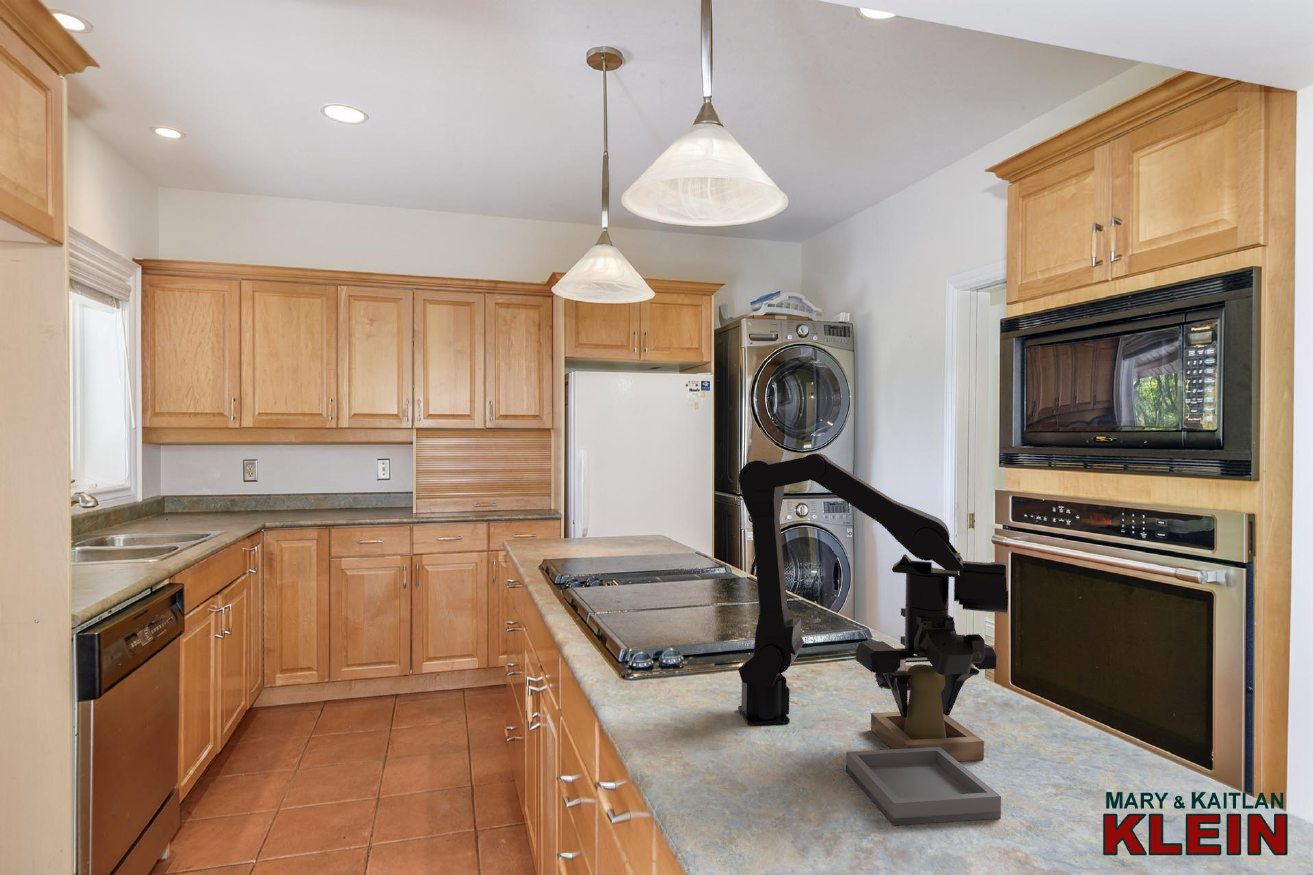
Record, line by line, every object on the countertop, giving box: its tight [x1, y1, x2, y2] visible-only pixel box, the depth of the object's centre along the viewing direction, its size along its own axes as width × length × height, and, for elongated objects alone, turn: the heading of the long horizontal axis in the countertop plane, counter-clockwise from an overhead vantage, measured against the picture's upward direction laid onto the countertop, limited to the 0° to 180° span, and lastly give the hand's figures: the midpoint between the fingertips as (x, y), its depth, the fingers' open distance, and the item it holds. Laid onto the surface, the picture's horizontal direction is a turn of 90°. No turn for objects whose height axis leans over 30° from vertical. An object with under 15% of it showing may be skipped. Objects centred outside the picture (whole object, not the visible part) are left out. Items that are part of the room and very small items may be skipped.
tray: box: [845, 747, 1002, 826], centre depth 87 cm, size 13×13×2 cm
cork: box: [904, 663, 946, 740], centre depth 101 cm, size 6×6×11 cm
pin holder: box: [870, 711, 985, 762], centre depth 101 cm, size 11×11×2 cm
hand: (925, 715), depth 101 cm, fingers open, 6 cm apart
